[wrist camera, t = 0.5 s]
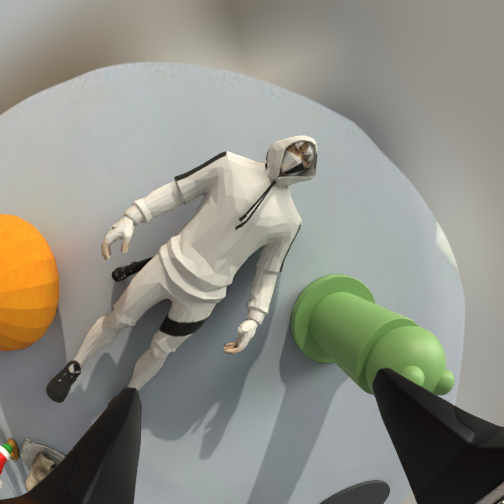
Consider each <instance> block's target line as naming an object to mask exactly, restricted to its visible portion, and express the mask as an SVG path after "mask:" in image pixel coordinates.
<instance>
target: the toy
mask: <svg viewBox="0 0 504 504" xmlns="http://www.w3.org/2000/svg"><path fill="white" fill-rule="evenodd" d="M291 332H292V336H293V339H294V341H295V343H296V344H297V346H298V347H299V348H300V350H301V351H302V352H303V353H304V354H305V355H306V356H307V357H309V358H310V359H312V360H314V361H316V362H320V363H336V364H337V365H338V366H339V367H340V368H341V369H342V370H343V371H344V372H345V373H346V374H347V375H348V376H349V377H350V378H351V379H352V380H353V381H354V382H355V383H356V384H357V385H358V386H359V387H360V388H361V389H362V390H364V391H365V392H367V393H370V394H373V395H374V392H373V388H372V383H373V380H374V378H375V376H376V373H377V371H378V370H379V369H381V368H386V367H388V368H390V369H392V370H394V371H395V372H397V373H399V374H400V375H402V376H404V377H406V378H407V379H409V380H411V381H412V382H414V383H416V384H418V385H419V386H421V387H423V388H425V389H426V390H428V391H430V392H432V393H433V394H436V395H445V394H447V393H448V392H449V391H450V390H451V389H452V388H453V385H454V376H453V374H452V373H451V372H450V371H449V370H446V369H445V367H446V360H445V354H444V350H443V347H442V345H441V343H440V342H439V340H438V339H437V338H436V337H435V336H434V335H433V334H432V333H431V332H429V331H427V330H426V329H423V328H420V327H418V325H417V324H416V323H415V322H414V321H413V320H411V319H409V318H406V317H404V316H402V315H399V314H397V313H395V312H393V311H390V310H388V309H386V308H383V307H381V306H379V305H376V304H375V300H374V297H373V295H372V293H371V292H370V290H369V289H368V287H367V286H366V285H365V284H363V283H362V282H361V281H359V280H357V279H355V278H353V277H349V276H346V275H340V274H335V275H328V276H325V277H322V278H320V279H318V280H316V281H314V282H313V283H311V284H310V285H309V286H308V287H307V288H306V289H305V290H304V291H303V292H302V293H301V295H300V296H299V297H298V299H297V301H296V303H295V305H294V308H293V311H292V315H291ZM374 396H375V395H374Z"/></svg>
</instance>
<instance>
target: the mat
mask: <svg viewBox="0 0 504 504" xmlns="http://www.w3.org/2000/svg"><path fill="white" fill-rule="evenodd" d="M389 493H390V488H389V486H388V484H387V483H385V482H383V481H379V480H374V481H368V482H363V483H360V484H357V485H354V486H351V487H349V488H347V489H345V490H342V491H340V492H338V493H336V494H335V495H333V496H331V497H330V498H328V499H326V500H325V501H324V502H322V503H321V504H383V503H384V502H385V501H386V499H387V498H388V496H389Z"/></svg>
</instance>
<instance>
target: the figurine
mask: <svg viewBox="0 0 504 504" xmlns="http://www.w3.org/2000/svg"><path fill="white" fill-rule="evenodd" d="M266 160H267V163H266V164H265V163H258V162H255V161H252V160H250V159H247V158H245V157H242V156H239V155H237V154H234V153H231V152H229V151H226V152H223V153H220V154H218V155H217V156H215V157H213V158H212V159H210V160H209V161H207V162H205V163H204V164H202V165H200V166H198V167H196V168H194V169H192V170H191V171H189V172H187V173H184V174H182V175H179V176H176V177H174V178H175V181H174V182H171V183H169V184H166V185H164V186H162V187H160V188H158V189H156V190H154V191H153V192H151V193H150V194H149V195H148V196H146V197H145V198H143V199H139V200H136V201H134V202H133V204H132V206H131V207H130V208H129V209H127V210H126V211H125V213H124V217H123V218H121V219H120V220H118V221H117V222H116V223H115V224H114V225H113V226H112V229H111V230H110V231H109V233H108V234H107V235H106V237H105V239H104V242H103V244H102V245H101V248H102V255H103V257H104V259H105V260H107V259H109V258H110V257H109V255H111V251H110V244H111V243H113V242H115V241H116V240H117V239H123V242H122V245H121V251H122V252H123V253H127V250H128V245H129V241H130V239H131V236H132V233H133V226H135V225H137V224H138V223H140V222H143V223H148V222H149V220H150V219H151V218H154V217H158V216H160V215H162V214H164V213H166V212H168V211H170V210H172V209H174V208H176V207H178V206H180V205H181V204H183V203H185V205H186V204H187V203H189V202H190V201H192V200H193V199H195V198H197V197H199V196H201V195H203V194H205V196H204V198H203V200H202V202H201V204H200V206H199V208H198V210H197V212H196V214H195V216H194V217H193V218H192V219H191V220H190V221H189V222H188V223H187V224H186V225H185V226H184V227H183V228H182V229H181V230H180V231H179V232H178V233H177V234H176V235H175V236H174V237H171V238H170V240H169V241H168V243H166V244H165V245H163V246H161V247H160V249H159V251H158V254H157V255H156V256H154V257H151V258H148V259H145V260H142V261H139V262H132V263H131V264H130V265H128V266H125V267H120V268H117V269H115V270H114V271H113V272H112V278H113V279H114V280H115V281H122V280H124V279H126V278H127V277H129V276H131V275H133V274H135V273H137V272H138V274H137V275H136V276H135V277H134V278H133V280H132V281H131V283H130V284H129V286H128V287H127V289H126V290H125V292H124V293H123V294H122V296H121V297H120V299H119V300H118V301H117V302H116V303H115V304H114V305H113V308H114V310H113V312H111V313H109V314H107V315H105V316H103V317H101V318H99V319H98V320H97V321H96V323H95V324H94V325H93V327H92V328H91V329H90V331H89V332H88V334H87V336H86V338H85V340H84V342H83V344H82V346H81V348H80V350H79V352H78V354H77V356H76V357H75V359H74V360H71V361H70V362H69V363H68V364H67V365H66V367H65V368H64V369H63V370H62V371H61V372H60V373H58V374H57V375H56V376H55V377H54V378H53V379H52V380H51V381H50V382H49V383H48V385H47V388H46V393H47V395H48V396H49V398H50V399H52V400H53V401H55V402H57V403H61V402H63V401H64V399H65V398H66V396H67V394H68V392H69V390H70V387H71V385H72V384H73V383H74V382H75V381H76V378H77V377H78V376H79V375H80V374H81V367H82V364H83V363H84V362H85V361H86V360H87V359H88V358H89V357H90V356H91V355H92V354H94V353H95V352H96V351H97V350H99V349H101V348H103V347H104V346H106V345H108V344H109V343H111V341H112V340H113V339H114V337H115V336H116V335H117V333H118V332H119V331H120V330H121V328H126V327H131V326H135V324H136V322H137V320H138V319H139V318H140V317H141V316H142V315H143V314H144V313H145V312H146V311H147V310H148V309H149V308H150V307H152V306H154V305H155V304H157V303H158V302H160V301H162V300H163V299H170V300H171V301H173V302H172V306H171V308H170V310H169V312H168V314H167V316H166V318H165V319H164V321H163V323H162V324H161V326H160V327H159V329H158V331H157V332H156V333H155V334H154V337H153V339H152V341H151V346H150V348H149V349H148V350H147V351H146V352H145V353H144V354H143V355H142V356H141V357H140V358H139V359H138V360H137V361H136V364H135V368H134V371H133V375H132V379H131V381H130V383H129V385H128V387H132V388H136V389H137V391H139V390H140V389H141V388H142V387H143V386H144V385H145V384H146V383H147V382H148V381H149V380H150V379H151V378H153V377H154V376H155V375H156V374H157V373H158V371H159V370H160V369H161V368H162V366H163V364H164V362H165V359H166V357H167V356H168V355H169V354H170V352H171V351H172V352H175V350H176V349H177V348H178V346H179V345H180V344H181V343H182V342H183V341H185V340H186V339H187V338H189V337H190V336H191V335H192V334H193V333H194V332H195V331H197V330H198V329H199V328H200V327H201V326H202V324H203V323H204V322H205V320H206V319H207V318H208V317H209V315H210V314H211V312H212V310H213V308H214V306H215V305H216V303H219V302H220V301H221V300H222V299H223V298H224V297H225V296H226V286H228V285H230V284H232V281H233V276H234V275H235V274H236V272H237V271H238V269H239V268H240V267H241V266H242V264H243V263H244V262H245V261H246V260H247V259H248V257H249V256H250V255H251V254H253V253H254V252H255V251H256V250H258V249H259V248H260V247H262V249H261V252H260V255H259V257H258V259H257V261H256V263H255V265H256V266H257V269H256V272H255V275H254V278H253V281H252V286H251V290H250V295H249V299H248V302H247V305H246V308H247V310H248V313H247V316H246V320H247V321H245V322H242V323H241V325H240V326H239V327H238V328H237V330H238V331H239V332H238V335H237V337H236V340H235V341H234V342H233V343H229V344H224V345H225V347H223V350H224V352H225V353H230V354H234V353H238V352H240V351H241V350H242V349H244V348H245V347H246V346H247V344H248V342H249V341H250V339H252V338H253V336H254V334H255V332H256V330H255V329H256V328H257V326H258V325H260V324H261V323H262V321H263V319H264V316H265V315H267V314H268V309H269V304H270V301H271V297H272V294H273V290H274V287H275V283H276V278H277V274H278V272H281V271H282V267H283V263H284V260H285V258H286V256H287V253H288V251H289V249H290V247H291V245H292V243H293V241H294V239H295V237H296V235H297V233H298V231H299V229H300V226H301V222H302V221H301V219H300V217H299V214H298V212H297V210H296V208H295V205H294V203H293V201H292V199H291V196H290V193H289V190H288V187H289V185H292V184H295V183H299V182H303V181H306V180H310V179H312V178H313V177H315V173H316V162H317V145H316V142H315V140H314V139H312V138H310V137H308V136H293V137H290V138H287V139H284V140H281V141H277V142H275V143H274V144H273V145H271V146H270V148H269V149H268V152H267V157H266ZM117 396H118V395H117ZM117 396H116V397H117ZM116 397H115V398H116ZM115 398H114V399H115ZM114 399H113V400H114ZM113 400H112V401H113ZM112 401H111V402H110V403H109V405H110V404H111V403H112ZM109 405H108V406H109Z"/></svg>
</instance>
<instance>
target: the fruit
mask: <svg viewBox="0 0 504 504" xmlns="http://www.w3.org/2000/svg"><path fill="white" fill-rule="evenodd" d="M58 301H59V275H58V271H57V266H56V262H55V258H54V256H53V254H52V252H51V250H50V248H49V245H48V243H47V241H46V240H45V239H44V237H43V236H42V235H41V234H40V233H39V232H38V230H37V229H36V228H35V227H34V226H33V225H31V224H29V223H28V222H26V221H24V220H22V219H21V218H19V217H17V216H13V215H3V214H0V350H2V351H11V350H20V349H25V348H27V347H29V346H30V345H32V344H33V343H34V342H36V341H37V340H39V339H40V338H41V337H42V336H43V335H44V334H45V332H46V331H47V329H48V328H49V326H50V324H51V323H52V321H53V319H54V317H55V314H56V310H57V305H58Z"/></svg>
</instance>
